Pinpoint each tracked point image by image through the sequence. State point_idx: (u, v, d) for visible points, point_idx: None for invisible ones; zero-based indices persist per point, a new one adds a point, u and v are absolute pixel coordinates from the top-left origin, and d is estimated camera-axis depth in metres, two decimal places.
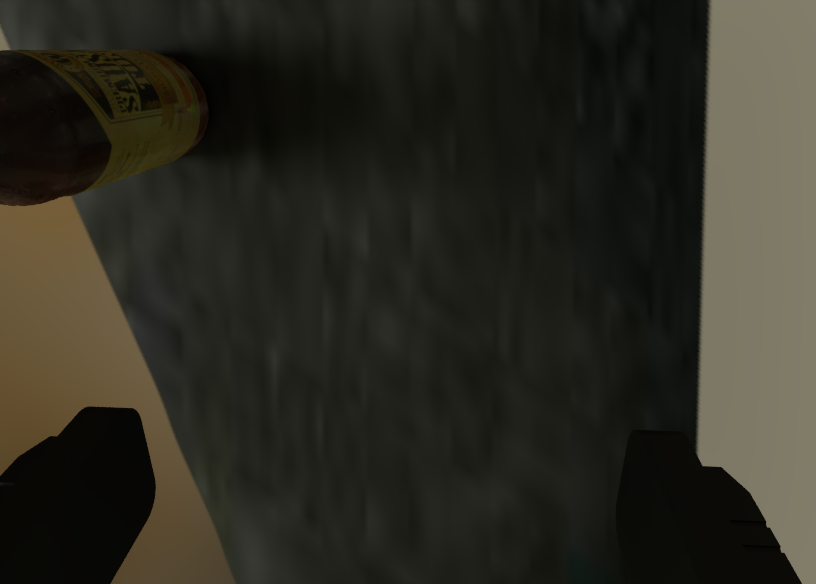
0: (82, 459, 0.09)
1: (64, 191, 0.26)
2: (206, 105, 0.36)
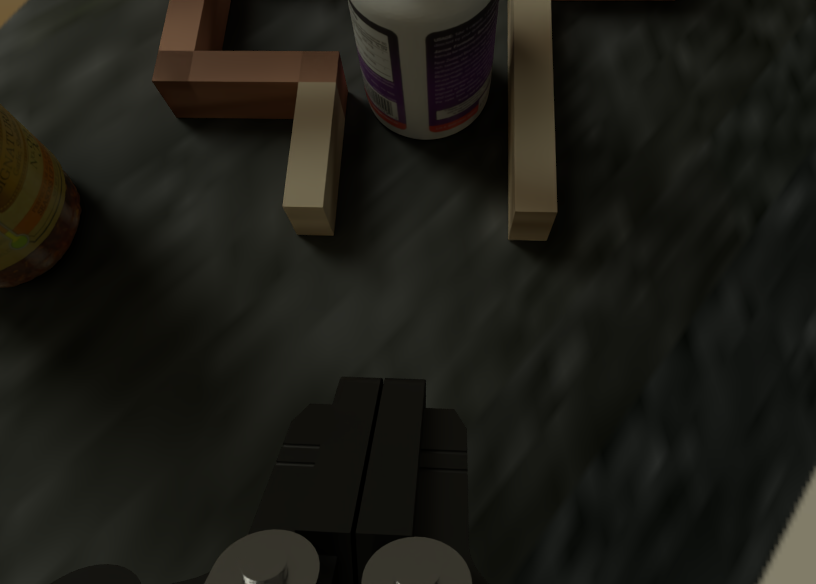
0: (370, 421, 0.10)
1: None
2: (51, 262, 0.25)
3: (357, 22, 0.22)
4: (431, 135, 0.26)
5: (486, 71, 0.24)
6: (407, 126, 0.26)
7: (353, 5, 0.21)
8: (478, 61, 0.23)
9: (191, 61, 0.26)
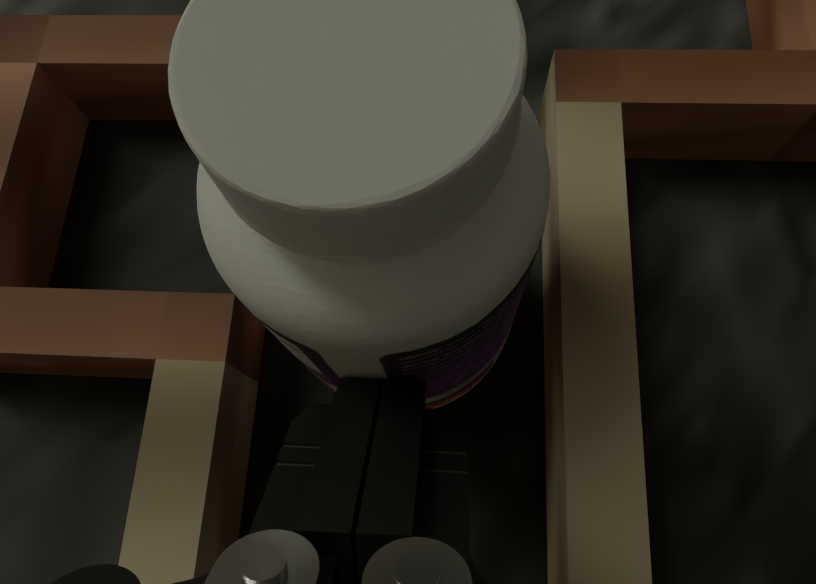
0: (370, 421, 0.10)
1: None
2: None
3: None
4: None
5: (508, 329, 0.13)
6: None
7: None
8: (496, 338, 0.12)
9: None
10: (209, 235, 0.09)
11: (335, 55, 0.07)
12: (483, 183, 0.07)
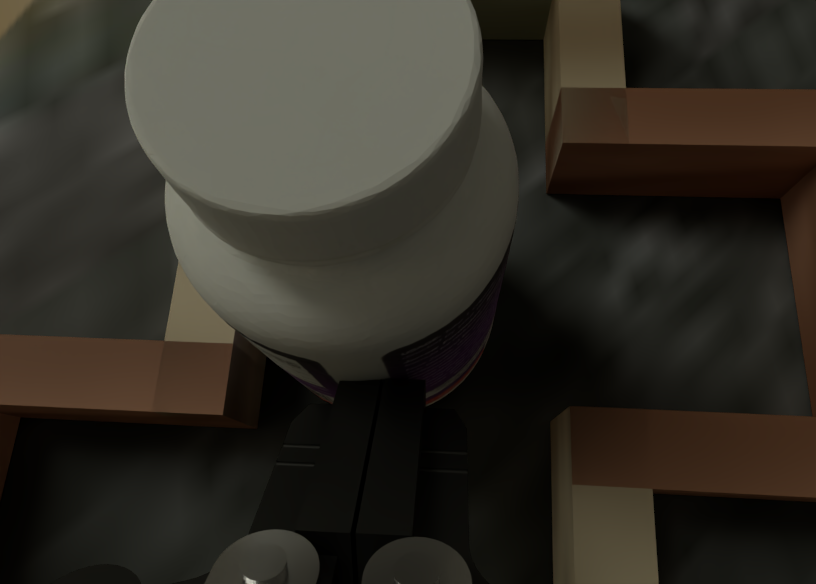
0: (370, 421, 0.10)
1: None
2: None
3: None
4: None
5: (495, 309, 0.13)
6: None
7: None
8: (486, 320, 0.12)
9: None
10: (190, 265, 0.09)
11: (294, 61, 0.07)
12: (459, 163, 0.07)
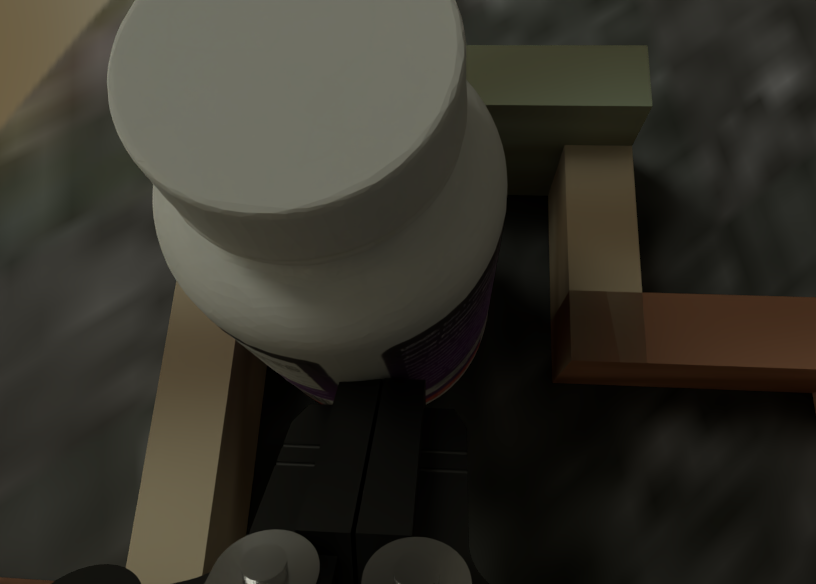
0: (370, 421, 0.10)
1: None
2: None
3: None
4: None
5: (489, 302, 0.13)
6: None
7: None
8: (481, 312, 0.12)
9: None
10: (183, 274, 0.09)
11: (276, 60, 0.07)
12: (449, 152, 0.07)
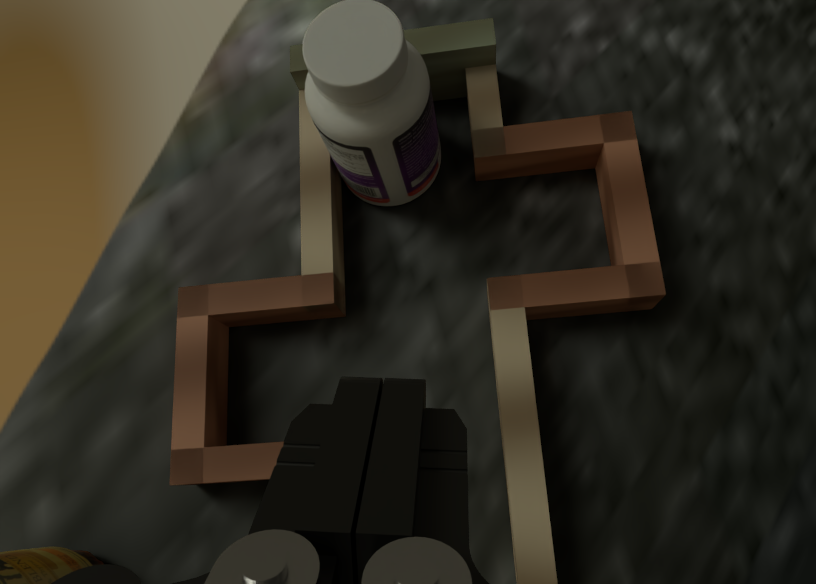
0: (370, 421, 0.10)
1: None
2: None
3: (333, 146, 0.27)
4: (410, 198, 0.32)
5: (437, 138, 0.30)
6: (390, 200, 0.31)
7: (328, 137, 0.27)
8: (431, 136, 0.29)
9: (203, 460, 0.28)
10: (322, 121, 0.26)
11: (350, 44, 0.24)
12: (403, 64, 0.24)
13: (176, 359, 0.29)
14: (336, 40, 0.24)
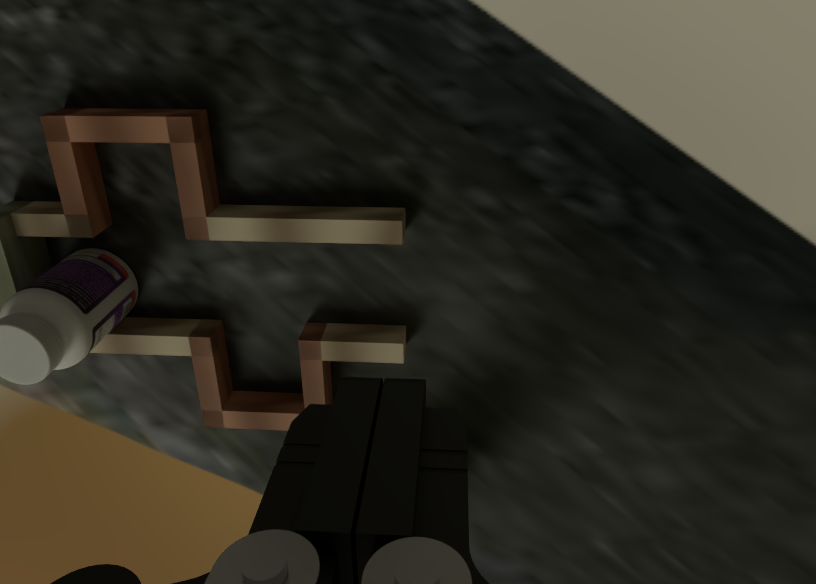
0: (370, 421, 0.10)
1: None
2: None
3: None
4: (130, 273, 0.43)
5: (79, 263, 0.40)
6: (132, 290, 0.43)
7: None
8: (79, 274, 0.39)
9: None
10: (75, 361, 0.38)
11: (17, 356, 0.35)
12: (27, 321, 0.35)
13: (251, 428, 0.45)
14: (15, 364, 0.36)
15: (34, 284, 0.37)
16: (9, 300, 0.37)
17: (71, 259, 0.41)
